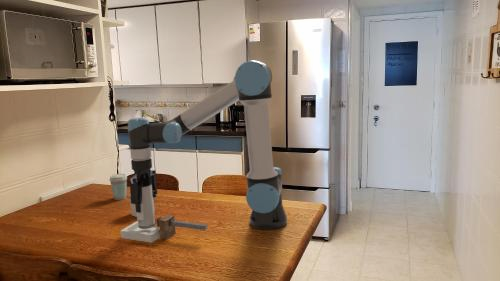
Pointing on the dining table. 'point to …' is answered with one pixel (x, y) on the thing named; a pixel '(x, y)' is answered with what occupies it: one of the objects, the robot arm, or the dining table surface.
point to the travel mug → (146, 204)
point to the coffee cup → (119, 186)
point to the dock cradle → (140, 233)
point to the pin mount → (166, 227)
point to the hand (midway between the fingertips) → (146, 216)
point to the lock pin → (182, 224)
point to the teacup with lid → (133, 208)
